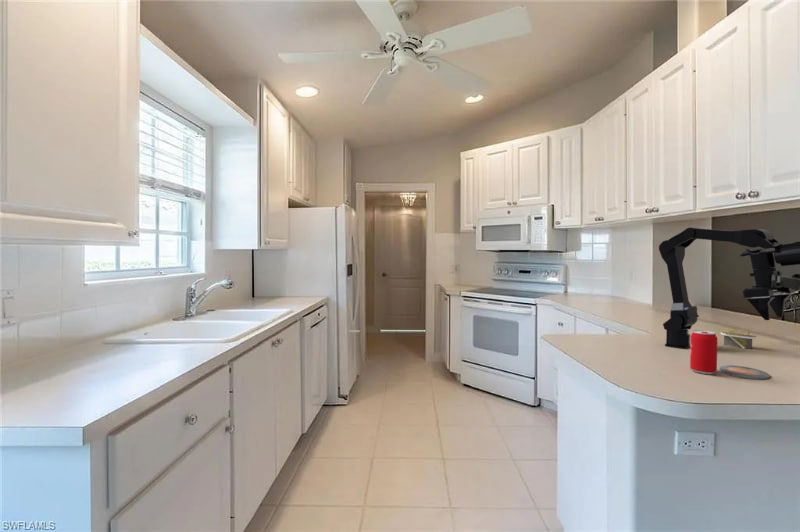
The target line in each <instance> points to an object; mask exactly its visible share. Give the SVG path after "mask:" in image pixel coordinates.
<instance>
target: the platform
mask: <svg viewBox="0 0 800 532" xmlns="http://www.w3.org/2000/svg"><path fill="white" fill-rule="evenodd" d="M750 333H751V332H750V331H747V330H739V329H732V328H731V329H728V332H725V331H720V335H723V345H724V346H728V345H730V346H729V347H735V346H738V348H742V349H744V348H745V349H750V348H752V349H753V339H757V338H758V337H757V335H751V334H750Z"/></svg>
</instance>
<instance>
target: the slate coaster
mask: <svg viewBox="0 0 800 532" xmlns="http://www.w3.org/2000/svg"><path fill="white" fill-rule="evenodd" d="M718 370H719V371H720V372H721V373H723V372H724V373H723V374H725V373H727V374H726V375H728V374H730V375H729V376H732V375H734V376H733V377H736V376H738V377H737V378H741V377H743V378H742V379H747V378H751V379H750V380H760V379H761V380H768V379H770V374H769V373H768V372H766V371H763V370H761V369H757V368H753V367H748V366H742V365H741V366H740V365H731V364H730V365H729V364H728V365H726V364H725V365H721V366H719V368H718Z"/></svg>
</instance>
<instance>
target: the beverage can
mask: <svg viewBox="0 0 800 532" xmlns="http://www.w3.org/2000/svg"><path fill="white" fill-rule="evenodd" d="M689 356H690V360H689V361H690V363H689V368H690V369H691V371H693V372H695V373H697V372H698V373H697V374H701V373H702V374H703V375H714V374H715V373H717V371H718V337H717V335H716V332H714V331H711V330H705V329H695V330H692V333H691V334H690V355H689Z"/></svg>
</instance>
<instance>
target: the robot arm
mask: <svg viewBox="0 0 800 532" xmlns="http://www.w3.org/2000/svg"><path fill="white" fill-rule="evenodd" d="M695 240H708V241H716V242H726V243H727V242H728V243H729V242H730V243H734V244H736V245H739V246H743V247H747V248H745V249H744V251H743V252H742V253H741V254H740V257H749V263H750V267H751V273H749V277H753V283H754V285H752V286H751V287H748V288H744V290H742V295H743V298H744V299H745V298H746V299H745V300H746V301H748V302H749V303H750V305H751V306H752V307H753V308H754V309H755V310H756V312H758V314H759V315H760V316H761V318H762V319H763V320H764V321H770V320H771V309H772V311H773V312H774V313H775V315H776V317H777V318H783V317H784V312H785V305H786V301H787V300H788V298H790V297H792V295H793V293H795V291H800V273H794V274H792V276H791V275H784V274H783V273H782V271H781V270H778V268H777V264H778V265H779V264H780V266H781V267H791V266H792V267H793V266H800V241H795V242H791V243H786V244H785V243H784V244H783V243H782V242H780V241H778V240H777V239H776V238H775V237H774V236H773V233H772V231H770V230H768V229H762V228H759V229H758V228H757V229H755V228H754V229H739V230H728V229H727V230H725V229H724V230H723V229H709V228H699V227H687V228H685V229H684V230H682V231H681V232H680V233H678V234H676V235H674V236H672V237H670V238H669V239H665V240H663V241H661V243H660V244H659V245H658V251H659V254H660V256H661V259H662V260H663V261H664V263H665V264H666V267H667V274H668V280H669V285H670V291H671V297H672V305H671V307H670V313H669V314H670V318H669V319H668V320H666V321H664V322H663V324H662V326H663V330H665V332H666V335H665V338H666V339H665V342H666V343H665V344H664V346H666V347H672V348H679V349H688V347H689V346H690V347H691V334H690V333H689V330H691V329H692V327H693V325H695V324H696V323H697V322H698V318H699V317H700V315H699V314H698V307H697V305H693V306H692V304H691V303H690V301H689V296H688V295H689V294H688V290H687V283H686V277H685V272H684V271H685V270H684V266H683V263H684V259H685V257H686V256H685V255H686V248H688V247H690V246H691V245H692V244H693V243H694V242H695ZM751 248H754V249H753V250H752V249H751ZM755 248H760V249H755ZM770 249H771V250H770ZM767 250H769V251H767Z"/></svg>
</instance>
